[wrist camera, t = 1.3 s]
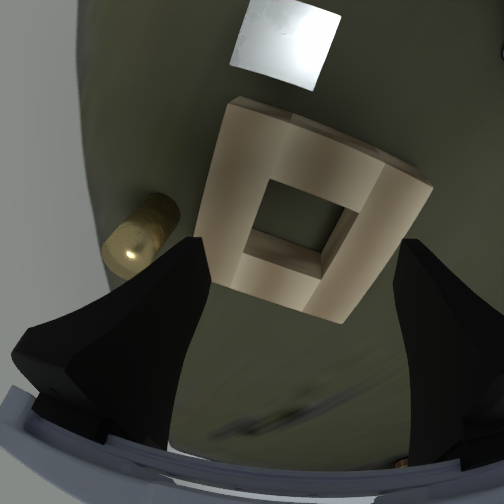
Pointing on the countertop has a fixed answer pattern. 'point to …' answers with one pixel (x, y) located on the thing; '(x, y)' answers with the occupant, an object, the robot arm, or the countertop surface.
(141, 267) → the cylinder
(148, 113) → the countertop surface
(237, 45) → the square bit
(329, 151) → the socket block
